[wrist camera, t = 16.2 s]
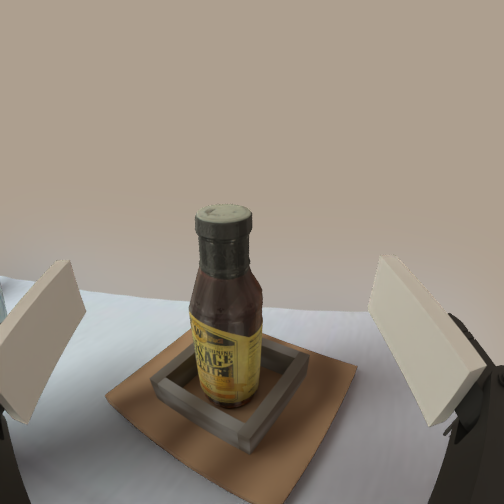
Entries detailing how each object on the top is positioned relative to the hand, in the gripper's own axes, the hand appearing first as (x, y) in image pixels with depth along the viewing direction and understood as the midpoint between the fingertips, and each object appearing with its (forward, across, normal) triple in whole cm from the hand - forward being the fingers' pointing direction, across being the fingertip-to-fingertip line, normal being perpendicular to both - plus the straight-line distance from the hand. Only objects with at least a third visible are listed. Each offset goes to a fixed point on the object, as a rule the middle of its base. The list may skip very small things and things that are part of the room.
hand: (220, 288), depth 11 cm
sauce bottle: (+10, 0, -20) cm, 22 cm away
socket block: (+10, 0, -22) cm, 24 cm away
